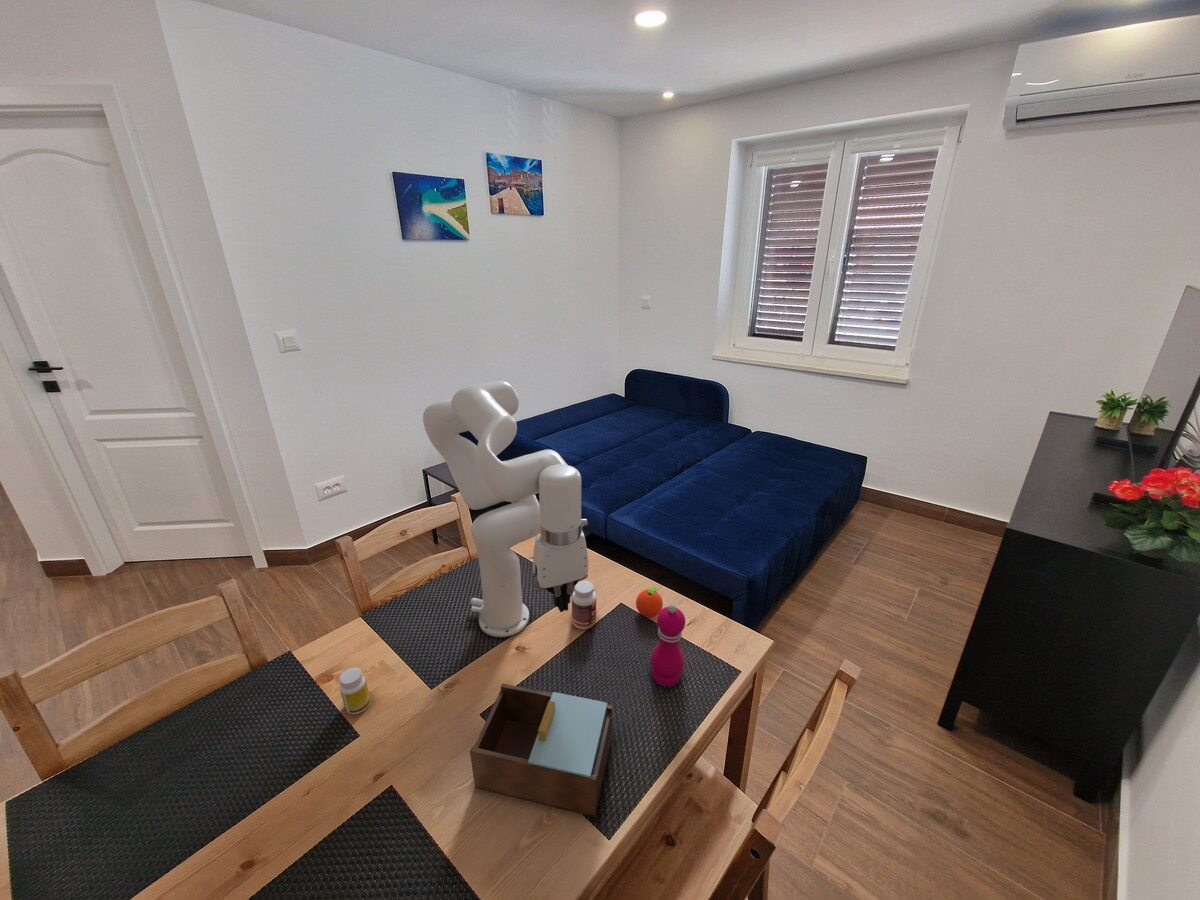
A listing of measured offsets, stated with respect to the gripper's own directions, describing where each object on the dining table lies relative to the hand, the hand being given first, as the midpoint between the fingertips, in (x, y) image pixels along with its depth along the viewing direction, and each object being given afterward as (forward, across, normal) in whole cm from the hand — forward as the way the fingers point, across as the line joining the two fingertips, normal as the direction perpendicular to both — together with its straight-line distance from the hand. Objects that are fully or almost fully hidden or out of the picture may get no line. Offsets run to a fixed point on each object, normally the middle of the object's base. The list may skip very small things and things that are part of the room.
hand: (561, 606), depth 97 cm
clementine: (+22, -29, -12) cm, 38 cm away
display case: (+22, +9, +15) cm, 28 cm away
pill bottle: (+22, -12, -16) cm, 30 cm away
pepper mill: (+22, -22, +7) cm, 32 cm away
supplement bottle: (+22, +41, -12) cm, 48 cm away
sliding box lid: (+12, +5, +18) cm, 22 cm away
